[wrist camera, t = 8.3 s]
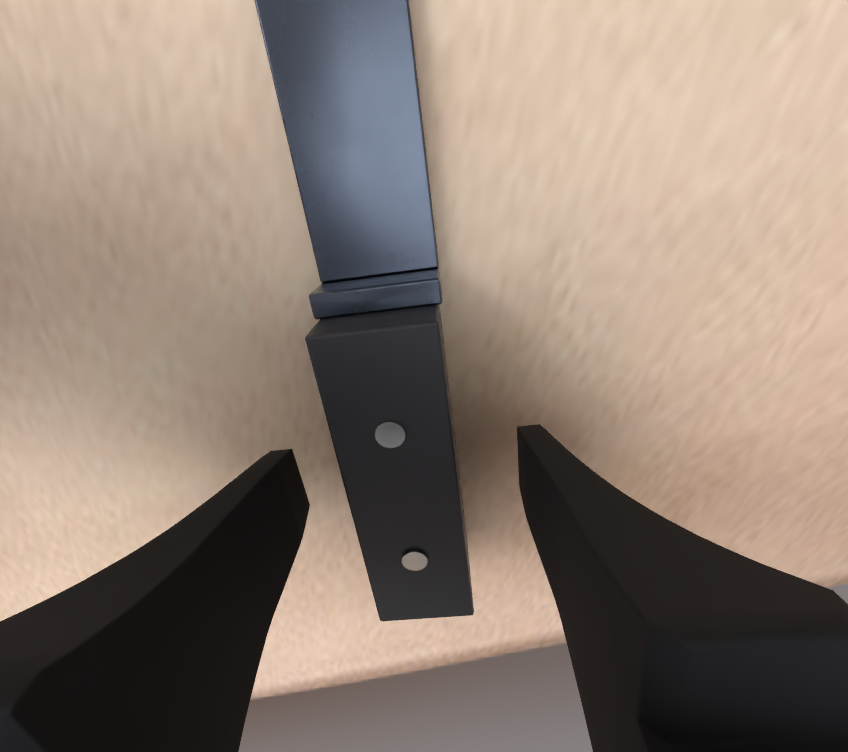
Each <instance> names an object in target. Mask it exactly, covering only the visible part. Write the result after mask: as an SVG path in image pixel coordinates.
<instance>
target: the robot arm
mask: <svg viewBox="0 0 848 752" xmlns="http://www.w3.org/2000/svg"><path fill="white" fill-rule="evenodd" d="M517 442H518V466H519V487H520V491H521V496H522V500H523V505H524V509H525V514H526V518H527V521H528V524H529V527H530V530H531V533H532V536H533V539H534V541H535V544H536V547H537V550H538V553H539V555H540V558H541V561H542V564H543V567H544V569H545V572H546V575H547V578H548V581H549V584H550V586H551V589H552V592H553V595H554V598H555V601H556V604H557V607H558V611H559V614H560V618H561V621H562V625H563V629H564V633H565V637H566V641H567V645H568V649H569V653H570V657H571V661H572V665H573V669H574V673H575V677H576V681H577V685H578V690H579V694H580V698H581V702H582V706H583V710H584V714H585V719H586V723H587V728H588V732H589V736H590V740H591V745H592V749H593V752H848V604H847V603H846V602H845V601H844V600H843V599H842V598H840V597H839V596H838V595H837V594H836V593H835V592H834V591H833V590H830V589H828V588H825V587H822V586H820V585H817V584H814V583H812V582H809V581H806V580H803V579H801V578H798V577H795V576H793V575H790V574H787V573H785V572H782V571H779V570H777V569H774V568H771V567H769V566H766V565H763V564H761V563H758V562H756V561H754V560H751V559H749V558H747V557H744V556H742V555H740V554H738V553H735V552H733V551H731V550H728V549H726V548H724V547H721V546H719V545H717V544H715V543H713V542H711V541H709V540H707V539H704V538H702V537H700V536H698V535H696V534H694V533H692V532H690V531H688V530H686V529H685V528H683V527H681V526H679V525H677V524H675V523H673V522H671V521H669V520H667V519H666V518H664V517H662V516H660V515H658V514H657V513H655V512H653V511H651V510H650V509H648V508H647V507H645V506H643V505H642V504H640V503H638V502H637V501H635V500H634V499H632V498H630V497H629V496H627V495H626V494H624V493H623V492H621V491H620V490H618V489H617V488H615V487H614V486H612V485H611V484H610V483H608V482H607V481H606V480H604V479H603V478H601V477H600V476H599V475H597V474H596V473H595V472H594V471H592V470H591V469H590V468H589V467H587V466H586V465H585V464H584V463H583V462H581V461H580V460H579V459H578V458H577V457H575V456H574V455H573V454H572V453H571V452H570V451H568V450H567V449H566V448H565V447H564V446H563V445H562V444H561V443H560V442H559V441H557V440H556V439H555V438H554V437H553V436H552V435H551V434H550V433H549V432H548V431H547V430H546V429H545V428H543V427H542V426H541V425H540V424H538V425H528V426H518V427H517ZM309 506H310V504H309V501H308V498H307V494H306V491H305V488H304V485H303V482H302V479H301V476H300V472H299V469H298V466H297V463H296V460H295V457H294V454H293V450H292V449H285V450H275V451H270V452H269V453H267V454H266V455H265V456H263V457H262V458H260V459H259V460H258V461H257V462H255V463H254V464H253V465H251V466H250V467H249V468H248V469H246V470H245V471H244V472H243V473H241V474H240V475H239V476H238V477H237V478H235V479H234V480H233V481H232V482H230V483H229V484H228V485H227V486H225V487H224V488H223V489H222V490H220V491H219V492H218V493H217V494H215V495H214V496H213V497H211V498H210V499H209V500H207V501H206V502H205V503H203V504H202V505H201V506H199V507H198V508H197V509H195V510H194V511H193V512H191V513H190V514H189V515H187V516H186V517H185V518H183V519H182V520H181V521H179V522H178V523H177V524H175V525H174V526H172V527H171V528H169V529H168V530H166V531H165V532H163V533H162V534H161V535H159V536H158V537H156V538H154V539H153V540H151V541H150V542H148V543H147V544H145V545H144V546H142V547H140V548H139V549H137V550H136V551H134V552H132V553H131V554H129V555H128V556H126V557H124V558H122V559H121V560H119V561H117V562H115V563H114V564H112V565H110V566H108V567H106V568H105V569H103V570H101V571H99V572H98V573H96V574H94V575H92V576H91V577H89V578H87V579H85V580H84V581H82V582H80V583H78V584H76V585H74V586H72V587H70V588H68V589H66V590H65V591H63V592H61V593H59V594H57V595H55V596H53V597H51V598H49V599H47V600H45V601H43V602H41V603H39V604H36V605H34V606H32V607H30V608H28V609H26V610H24V611H22V612H20V613H18V614H16V615H13V616H11V617H9V618H7V619H5V620H3V621H0V752H238V750H239V746H240V741H241V737H242V732H243V727H244V722H245V718H246V714H247V710H248V706H249V702H250V698H251V694H252V690H253V686H254V682H255V677H256V673H257V670H258V666H259V662H260V659H261V655H262V651H263V648H264V644H265V640H266V636H267V633H268V630H269V627H270V624H271V621H272V618H273V615H274V612H275V610H276V607H277V605H278V602H279V599H280V597H281V594H282V591H283V589H284V586H285V583H286V581H287V578H288V576H289V573H290V570H291V568H292V565H293V562H294V560H295V557H296V554H297V551H298V549H299V546H300V543H301V540H302V537H303V533H304V529H305V525H306V520H307V516H308V511H309Z"/></svg>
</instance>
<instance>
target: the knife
mask: <svg viewBox="0 0 848 752" xmlns="http://www.w3.org/2000/svg"><path fill="white" fill-rule="evenodd" d="M255 4H256V8H257V12H258V17H259V21H260V25H261V29H262V34H263V38H264V42H265V47H266V51H267V55H268V59H269V64H270V68H271V72H272V76H273V81H274V85H275V89H276V93H277V98H278V102H279V106H280V110H281V115H282V119H283V123H284V127H285V132H286V136H287V140H288V144H289V149H290V153H291V157H292V161H293V166H294V170H295V174H296V178H297V183H298V187H299V191H300V195H301V200H302V204H303V208H304V212H305V217H306V221H307V225H308V229H309V234H310V238H311V242H312V246H313V251H314V255H315V259H316V263H317V268H318V272H319V276H320V280H321V282H322V284H321V285H320V286H319V287H317V288H316V289H315V290H314V291H313V292H312V293H311V294H310V295H309V300H310V304H311V308H312V312H313V315H314V318H315V319H320V320H319V322H318V323H317V324H316V325H315V326H314V328H313V329H312V330H311V331H310V332H309V334H308V335H307V336H306V338H305V340H306V344H307V348H308V352H309V355H310V359H311V363H312V367H313V370H314V374H315V378H316V382H317V385H318V389H319V393H320V397H321V400H322V404H323V408H324V412H325V415H326V419H327V423H328V427H329V430H330V434H331V438H332V442H333V445H334V449H335V453H336V457H337V460H338V464H339V468H340V472H341V475H342V479H343V483H344V487H345V490H346V494H347V498H348V502H349V505H350V509H351V513H352V517H353V520H354V524H355V528H356V532H357V535H358V539H359V543H360V547H361V550H362V554H363V558H364V562H365V565H366V569H367V573H368V577H369V580H370V584H371V588H372V592H373V596H374V599H375V603H376V607H377V611H378V614H379V618H380V620H381V621H392V620H407V619H422V618H437V617H452V616H466V615H473V613H474V608H473V598H472V588H471V577H470V567H469V556H468V546H467V536H466V528H465V519H464V511H463V502H462V494H461V485H460V477H459V468H458V460H457V451H456V443H455V434H454V426H453V417H452V409H451V400H450V392H449V383H448V375H447V366H446V358H445V349H444V341H443V332H442V324H441V315H440V306H439V304H441V303H442V292H441V282H440V273H439V267H438V266H439V264H438V255H437V246H436V238H435V229H434V220H433V211H432V202H431V194H430V185H429V176H428V167H427V158H426V149H425V141H424V132H423V123H422V114H421V105H420V97H419V88H418V79H417V70H416V61H415V53H414V44H413V35H412V26H411V17H410V9H409V0H255Z"/></svg>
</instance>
